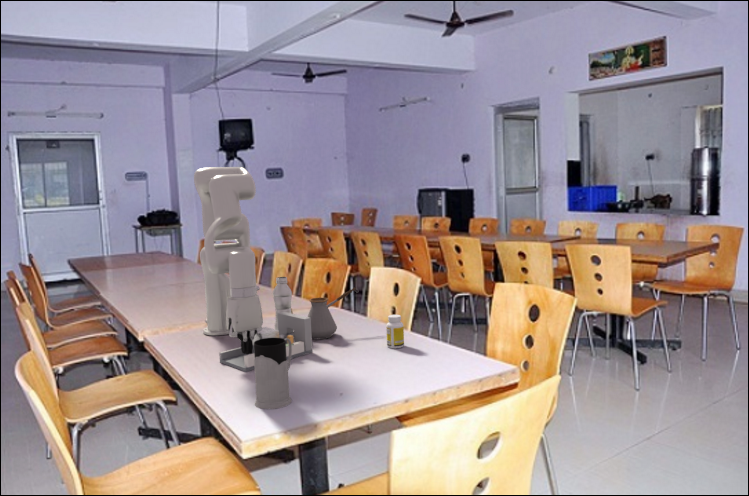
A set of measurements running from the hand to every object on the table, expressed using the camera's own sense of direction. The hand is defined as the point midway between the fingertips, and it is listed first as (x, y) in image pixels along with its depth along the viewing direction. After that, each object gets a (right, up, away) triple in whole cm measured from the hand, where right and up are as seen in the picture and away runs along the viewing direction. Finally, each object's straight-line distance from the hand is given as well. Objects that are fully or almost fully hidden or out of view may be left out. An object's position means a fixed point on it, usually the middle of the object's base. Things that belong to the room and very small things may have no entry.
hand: (247, 353), depth 178 cm
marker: (+12, +3, +3) cm, 13 cm away
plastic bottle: (+6, +1, +31) cm, 32 cm away
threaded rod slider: (+9, 0, +6) cm, 10 cm away
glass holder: (+14, -6, -30) cm, 34 cm away
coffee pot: (+23, +1, +30) cm, 38 cm away
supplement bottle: (+44, 0, +11) cm, 46 cm away
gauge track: (+5, -2, +4) cm, 7 cm away
